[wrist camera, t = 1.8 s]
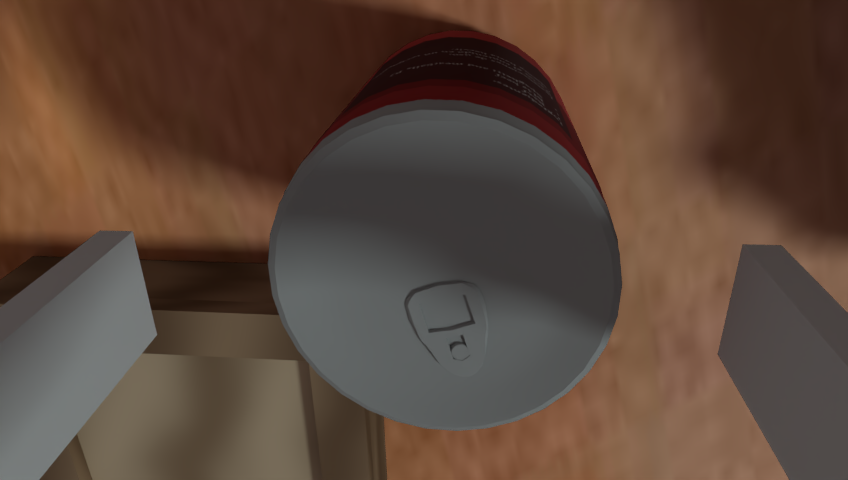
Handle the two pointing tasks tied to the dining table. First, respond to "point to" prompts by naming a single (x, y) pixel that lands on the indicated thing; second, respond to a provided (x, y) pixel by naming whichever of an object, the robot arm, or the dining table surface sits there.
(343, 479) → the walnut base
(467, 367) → the canned food
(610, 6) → the dining table surface
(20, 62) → the dining table surface
